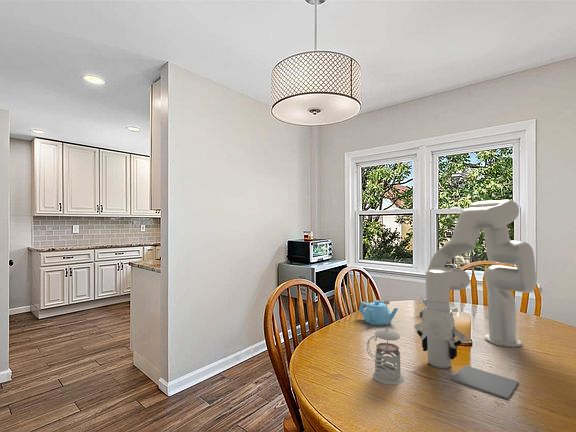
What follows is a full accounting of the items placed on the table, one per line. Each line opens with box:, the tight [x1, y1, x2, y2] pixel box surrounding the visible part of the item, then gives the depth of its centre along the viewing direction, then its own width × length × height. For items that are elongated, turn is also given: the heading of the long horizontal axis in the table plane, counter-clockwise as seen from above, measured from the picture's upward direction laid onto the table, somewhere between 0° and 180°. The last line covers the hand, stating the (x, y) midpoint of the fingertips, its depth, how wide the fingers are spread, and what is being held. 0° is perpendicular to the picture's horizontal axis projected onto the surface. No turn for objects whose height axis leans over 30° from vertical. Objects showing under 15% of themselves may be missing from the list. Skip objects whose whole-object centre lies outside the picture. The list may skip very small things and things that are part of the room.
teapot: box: [358, 299, 399, 327], centre depth 156 cm, size 15×15×11 cm
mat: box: [451, 365, 519, 401], centre depth 97 cm, size 13×15×1 cm
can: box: [426, 332, 452, 369], centre depth 109 cm, size 8×8×12 cm
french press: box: [366, 299, 405, 386], centre depth 101 cm, size 10×12×25 cm
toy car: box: [418, 297, 459, 318], centre depth 161 cm, size 18×10×12 cm
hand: (439, 354), depth 109 cm, fingers open, 8 cm apart
